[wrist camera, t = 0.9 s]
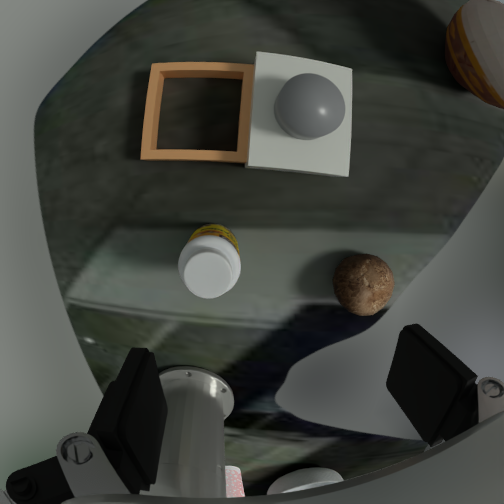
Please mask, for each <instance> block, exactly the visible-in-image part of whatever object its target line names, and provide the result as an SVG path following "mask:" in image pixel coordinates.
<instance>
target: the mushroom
mask: <svg viewBox="0 0 504 504" xmlns="http://www.w3.org/2000/svg"><path fill="white" fill-rule="evenodd" d="M333 286H334V293H335V295H336V297H337V298H338V300H339V302H340V304H341V305H342V306H344V307H345V308H346V309H347V310H348V311H349V312H351V313H354V314H357V315H360V316H365V315H373V314H375V313H376V312H378V311H379V310H381V309H382V308H383V307H384V306H385V304H386V303H387V302H388V300H389V299H390V298H391V296H392V292H393V288H394V278H393V273H392V271H391V269H390V268H389V266H388V265H387V263H386V262H384V261H383V260H382V259H380V258H379V257H377V256H374V255H370V254H360V255H354V256H351V257H348V258H345V259H344V260H343V261H342V262H341V263H340V264H339V266H338V267H337V268H336V270H335V274H334V277H333Z"/></svg>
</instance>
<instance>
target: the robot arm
mask: <svg viewBox="0 0 504 504" xmlns="http://www.w3.org/2000/svg"><path fill="white" fill-rule="evenodd" d="M477 377H478V376H477V375H476V374H475V373H474V372H473V371H472V370H470V368H468V367H467V366H466V365H465V364H464V363H463V362H462V361H461V360H460V359H458V358H457V357H456V356H455V355H454V354H452V352H450V351H449V350H448V349H447V348H446V347H445V346H444V345H443V344H441V343H440V342H439V341H438V340H437V339H436V338H434V337H433V336H432V335H431V334H430V333H428V332H427V331H426V330H425V329H424V328H423V327H421V326H420V325H419V324H412V325H407V326H405V327H404V328H403V330H402V331H401V332H400V334H399V338H398V342H397V346H396V350H395V354H394V357H393V361H392V365H391V368H390V371H389V374H388V378H387V382H386V386H387V389H388V391H389V392H390V393H391V395H392V396H393V397H394V399H395V400H396V402H397V403H398V405H399V406H400V407H401V409H402V410H403V412H404V413H405V414H406V416H407V417H408V419H409V420H410V422H411V423H412V425H413V426H414V427H415V429H416V430H417V432H418V433H419V434H420V436H421V438H422V439H423V440H424V441H425V442H428V444H429V445H430V447H433V446H435V445H437V444H439V443H441V442H442V440H443V439H444V440H445V442H444V443H442V444H440V445H438V446H436V447H434V448H432V449H430V450H428V451H426V452H423V453H421V454H419V455H417V456H414V457H412V458H409V459H407V460H405V461H402V462H399V463H397V464H394V465H392V466H389V467H386V468H383V469H381V470H378V471H375V472H372V473H369V474H365V475H362V476H359V477H355V478H352V479H348V480H345V481H341V482H337V483H333V484H328V485H324V486H319V487H315V488H310V489H304V490H299V491H293V492H286V493H279V494H271V495H261V496H249V497H230V498H227V495H226V474H225V448H224V419H226V418H227V417H228V416H229V415H230V413H231V411H232V409H233V406H234V396H233V392H232V390H231V388H230V386H229V385H228V384H227V383H226V381H225V380H223V379H222V378H221V377H220V376H218V375H216V374H214V373H213V372H210V371H208V370H205V369H202V368H198V367H190V366H178V367H173V368H169V369H167V370H164V371H162V372H161V373H158V369H157V365H156V360H155V356H154V353H153V352H149V350H148V349H147V348H131V350H130V352H129V354H128V356H127V358H126V360H125V362H124V364H123V366H122V368H121V370H120V373H119V375H118V377H117V379H116V381H112V382H111V383H110V384H109V386H108V388H107V390H106V392H105V395H104V397H103V399H102V401H101V403H100V406H99V408H98V410H97V412H96V414H95V417H94V419H93V421H92V423H91V426H90V428H89V431H88V433H87V434H86V433H83V432H76V433H71V434H69V435H66V436H64V438H62V439H61V440H60V441H59V443H58V445H57V449H56V453H57V456H55V457H52V458H50V459H47V460H45V461H42V462H39V463H37V464H34V465H31V466H28V467H26V468H23V469H20V470H17V471H15V472H13V473H12V474H11V475H10V476H9V477H8V479H7V482H6V490H5V491H3V490H1V489H0V504H504V383H503V382H502V381H500V380H498V379H496V378H493V377H485V378H482V379H481V380H480V381H479V382H478V384H475V381H476V379H477ZM140 492H141V495H140V494H139V493H140Z"/></svg>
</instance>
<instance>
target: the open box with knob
mask: <svg viewBox="0 0 504 504" xmlns="http://www.w3.org/2000/svg"><path fill="white" fill-rule="evenodd" d="M164 78H228V79H243V80H242V91H241V103H240V115H239V127H238V140H237V152H233V151H213V150H156V145H157V134H158V123H159V114H160V105H161V97H162V90H163V83H164ZM351 122H352V69H350V68H346V67H342V66H338V65H334V64H330V63H325V62H321V61H316V60H311V59H306V58H300V57H294V56H288V55H281V54H274V53H265V52H257V53H256V57H255V61H254V64H253V65H251V64H238V63H219V62H174V63H155V64H152V67H151V73H150V79H149V86H148V92H147V100H146V107H145V116H144V125H143V135H142V147H141V160H146V161H209V162H230V163H245V168H253V169H266V170H278V171H288V172H298V173H307V174H315V175H323V176H331V177H348V175H349V162H350V145H351Z"/></svg>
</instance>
